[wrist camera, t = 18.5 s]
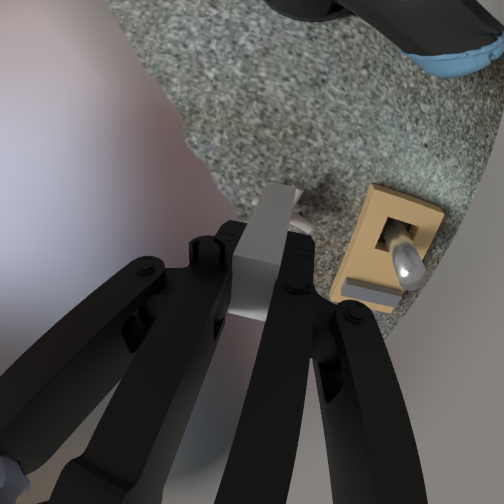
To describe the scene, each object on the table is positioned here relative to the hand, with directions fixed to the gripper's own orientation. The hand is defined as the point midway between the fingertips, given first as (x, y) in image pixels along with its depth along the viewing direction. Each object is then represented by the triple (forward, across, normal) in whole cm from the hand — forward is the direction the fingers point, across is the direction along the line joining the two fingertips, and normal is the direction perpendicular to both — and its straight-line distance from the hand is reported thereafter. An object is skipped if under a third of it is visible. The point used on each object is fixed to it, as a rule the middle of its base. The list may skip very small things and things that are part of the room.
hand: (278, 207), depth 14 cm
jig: (+30, +19, -19) cm, 40 cm away
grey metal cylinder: (+30, +19, -14) cm, 38 cm away
